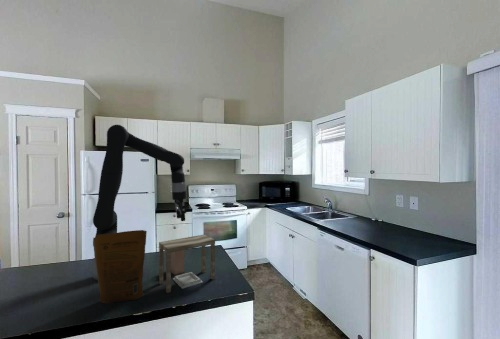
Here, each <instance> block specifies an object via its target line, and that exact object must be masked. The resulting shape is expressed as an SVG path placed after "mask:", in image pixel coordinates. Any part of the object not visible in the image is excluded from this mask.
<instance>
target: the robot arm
mask: <svg viewBox="0 0 500 339" xmlns="http://www.w3.org/2000/svg"><path fill="white" fill-rule="evenodd" d="M125 147H127V148H131V149H134V150H135V151H138V152H140V153H141V154H144V155H146V156H149V157H151V158H153V159H155V160H157V161H160V162H164V163H166V164H168V165H169V167H170V168H169V169H170V173H171V177H170V178H171V196H172V200H173V202H174V210H175V212H176V219H180V222H185V221H186V214H187V206H186V205H187V204H186V202H185V201H184V200H186V199H187V186H186V180H185V178H186V176H185V173H184V164H185V158H184V156H182V155H181V154H178V153H176V152H174V151H171V150H168V149H166V148H165V147H162V146H160V145H158V144H155V143H153V142H150V141H148V140H144V139H142V138H139V137H137V136H135V135H133V134H131V133H130V132H129V131H128V130H127V129H126V128H125V127H124V126H123V125H121V124H113V125H111V126H109V127H108V129H107V131H106V149H105V150H106V151H105V155H104V159H103V162H102V167H101V171H100V176H99V177H100V178H99V186H98V187H99V188H98V196H97V203H96V207H95V211H94V214H93V218H92V223H93V225H94V227H95V228H96V233H95V237H94V238H97V235H100V234H110V233H118V214H117V213H116V210H115V203H116V198H117V196H118V193H119V190H120V188H121V185H122V179H123V171H124V160H123V159H124V150H125ZM92 279H93V280H95V281H97V282H98V276H97V270H96V263H95V257H93V258H92Z"/></svg>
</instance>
